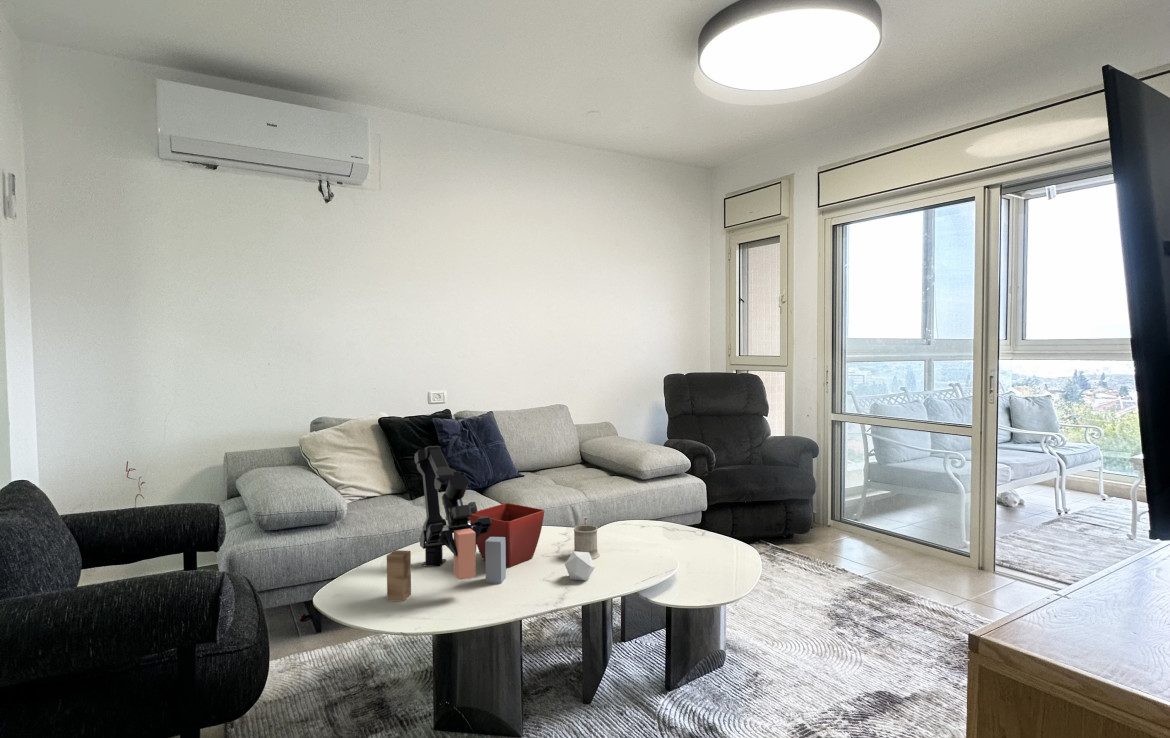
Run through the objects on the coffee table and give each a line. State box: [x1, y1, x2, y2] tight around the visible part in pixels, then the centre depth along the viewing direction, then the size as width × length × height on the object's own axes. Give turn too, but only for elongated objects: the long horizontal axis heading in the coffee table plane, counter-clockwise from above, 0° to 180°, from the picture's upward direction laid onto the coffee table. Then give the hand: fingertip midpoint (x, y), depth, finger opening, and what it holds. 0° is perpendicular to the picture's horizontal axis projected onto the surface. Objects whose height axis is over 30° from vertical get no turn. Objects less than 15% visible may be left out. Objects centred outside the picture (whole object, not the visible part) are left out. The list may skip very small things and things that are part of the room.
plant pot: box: [469, 502, 545, 568], centre depth 210 cm, size 19×19×17 cm
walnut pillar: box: [386, 549, 412, 602], centre depth 177 cm, size 5×5×13 cm
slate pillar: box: [485, 537, 507, 585], centre depth 190 cm, size 5×5×13 cm
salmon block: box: [453, 529, 477, 581], centre depth 177 cm, size 5×5×13 cm
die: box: [564, 550, 596, 582], centre depth 191 cm, size 8×9×10 cm
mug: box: [573, 516, 601, 561], centre depth 216 cm, size 14×10×12 cm
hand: (465, 554), depth 175 cm, fingers closed on salmon block, 5 cm apart
